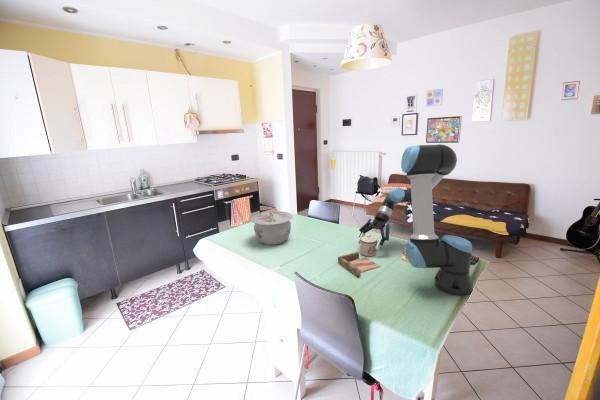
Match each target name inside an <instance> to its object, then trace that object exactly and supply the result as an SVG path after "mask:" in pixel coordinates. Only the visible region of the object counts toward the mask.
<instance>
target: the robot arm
mask: <svg viewBox="0 0 600 400" xmlns="http://www.w3.org/2000/svg"><path fill="white" fill-rule="evenodd" d="M457 162H458V158H457V154H456V152H455V150H454V149H453V148H452V147H450V146H448V145H446V144H419V145H412V146H411V145H410V146H407V147H406V148H405V149H404V151H403V153H402V156H401V161H400V166H401V167H400V168H401V171H402V172H403V173H404V174H406V178H407V179H408V180H409V181H410V189H406V188H405V189H404V188H401V187H394V188H393V189H391V190H390V191H388V192H387V194H386V195H385V198H384V199H383V201H382V203H381V205H380V207H379V209H378V211H377V213H376V215H375V217H374V219H371V218H369V219H368V220H367V222H366V223H365V224H363V225H362V227H360V228H359V229H358V231H359V232H360V233H359V235H358V240H357V241H356V242H357V243H358V245H361V238H362V237H364V236H366V235H365V234H367V233H369V232H370V231H371V230H374V229H378V230H379V231H380V235H381V238H379V240H378V241H377V246H376V248H375V249H376V251H380V248H381V246H383V245H384V244H385V241H387V242H388V241H390V229H391V224H390V223H388V222H389V220H390V218H391V216H392V213H393V212H394V209H395V208H396V206H397V205H398V204H399V203H400V204H403V203H411V211H412V212H411V214H412V217H411V218H412V231H413V233H412V234H411V235H410V236H409V241H407V242H406V243H405V254H406V258H407V260H408V262H409V264H410V265H411V266H412V268H415V269H424V270H425V269H432V268H433V269H435V268H437V269H438V268H439V269H438V271H437V272H436V274H435V276H434V281H433V282H434V286H435V287H436V288H437V289H438V290H441V292H444V293H447V294H449V295H453V296H465V295H469V294H470V293H472V291H473V284H472V279H471V276H470V268H471V262H472V254H473V244H472V243H471V241H470V240H468V239H466V238H463V237H461V236H457V235H453V234H452V235H450V234H445V235H443V236H442V238H441V240H440V239H439V236H438V235H437V234H436V233H435V220H434V218H435V217H434V203H433V189H434V188H435V187H436V186H437V184H439V183H440V182H441V180H442V179H443V178H444V177H445V176H449V175H450V174H451V173H452V172H453V170H455V168H456V166H457ZM384 228H385V229H384Z"/></svg>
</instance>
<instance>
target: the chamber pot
mask: <svg viewBox="0 0 600 400" xmlns="http://www.w3.org/2000/svg"><path fill="white" fill-rule="evenodd" d="M292 219H293V215H292V214H291V213H289V212H286V211H277V210H271V211H270V210H269V211H265V212H260V213H257V214H255V215H253V216H252V217H251V218H250V221H251V223H253V224H254V225H253V231H254V234H255V236H256V239H258V240H259V242H260V243H262V244H264V245H268V246H271V245H272V246H273V245H274V246H276V245H280V244H282V243H284V242H285V241H287V239H288V238H289V236H290V234H291V229H292V222H291V220H292Z"/></svg>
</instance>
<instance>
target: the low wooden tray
mask: <svg viewBox="0 0 600 400" xmlns="http://www.w3.org/2000/svg"><path fill="white" fill-rule="evenodd" d="M337 263H338V264H339V265H340V266H342V267H343V268H345V269H346V270H347V271H349V272H350V273H351V274H352V275H354V276H355V277H356V278H361V273H365V272H368V271H371V270H374V269H378V268H381V265H379V264H377V263H376V262H374V261H373V260H371V259H369V258H368V257H367V256H364V257H363V258H360V252H359V251H355V252H352V253H349V254H345V255H341V256H338V257H337Z"/></svg>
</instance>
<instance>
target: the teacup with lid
mask: <svg viewBox="0 0 600 400" xmlns="http://www.w3.org/2000/svg"><path fill="white" fill-rule="evenodd" d="M377 244H378V240H377V238H376V237H375V236H372V235H371V234H367V235H365V236H364V237H362V238H361V244H360V254H361V255H362V256H364V257H367V258H368V257H374V256H376V253H377V250H376V249H375V248H376V246H377Z"/></svg>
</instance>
